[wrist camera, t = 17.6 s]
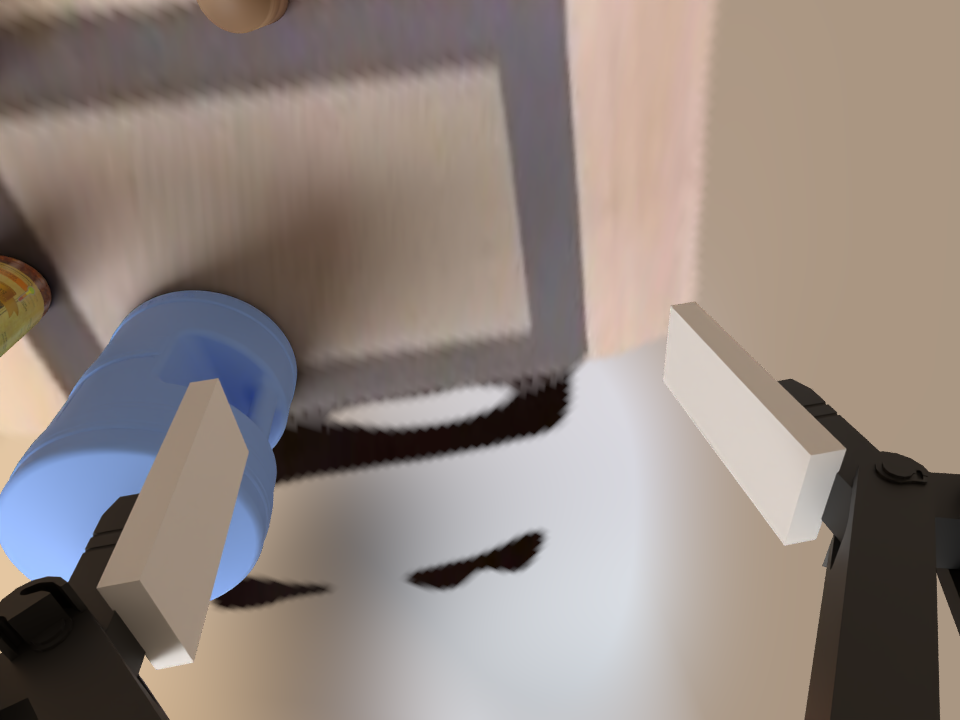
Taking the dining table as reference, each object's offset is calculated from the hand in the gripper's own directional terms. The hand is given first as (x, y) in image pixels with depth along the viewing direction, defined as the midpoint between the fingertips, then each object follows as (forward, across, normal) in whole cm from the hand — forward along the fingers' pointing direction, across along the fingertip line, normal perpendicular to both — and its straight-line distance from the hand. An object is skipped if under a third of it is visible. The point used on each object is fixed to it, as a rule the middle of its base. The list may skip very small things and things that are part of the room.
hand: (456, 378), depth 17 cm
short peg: (+35, -8, +10) cm, 37 cm away
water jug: (+35, -21, -18) cm, 44 cm away
